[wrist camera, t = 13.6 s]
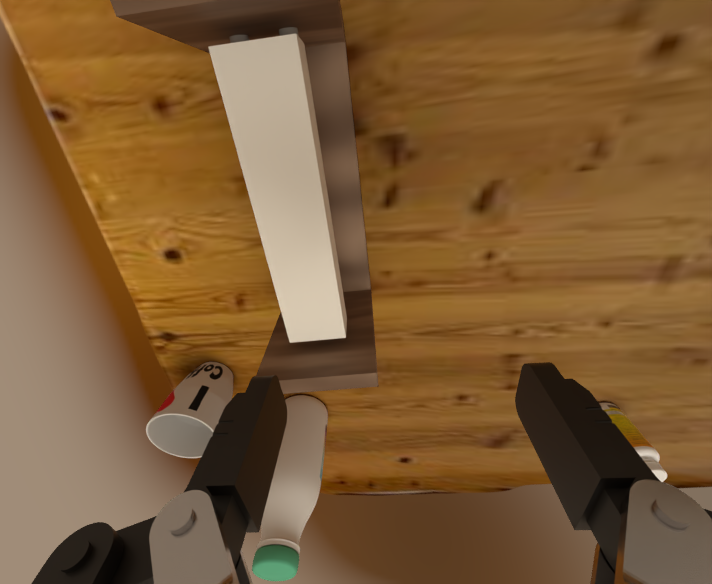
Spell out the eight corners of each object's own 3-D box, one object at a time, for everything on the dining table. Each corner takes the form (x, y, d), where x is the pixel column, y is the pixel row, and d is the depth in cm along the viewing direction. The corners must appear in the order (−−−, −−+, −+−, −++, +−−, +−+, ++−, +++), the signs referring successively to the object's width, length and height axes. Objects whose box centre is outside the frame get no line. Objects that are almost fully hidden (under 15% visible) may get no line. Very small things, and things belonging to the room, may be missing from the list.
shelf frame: (225, 39, 27) (99, -29, 14) (343, 22, 26) (328, -67, 13) (291, 301, 39) (258, 395, 26) (371, 294, 39) (378, 386, 26)
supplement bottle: (574, 410, 49) (622, 476, 40) (611, 395, 47) (670, 461, 38) (585, 429, 51) (633, 496, 42) (621, 415, 50) (679, 482, 41)
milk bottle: (268, 404, 49) (218, 567, 31) (309, 386, 47) (281, 549, 29) (297, 432, 52) (267, 594, 35) (337, 416, 50) (327, 579, 33)
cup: (233, 350, 43) (202, 410, 35) (251, 392, 47) (227, 455, 39) (177, 356, 44) (133, 417, 35) (199, 397, 48) (164, 460, 39)
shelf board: (227, 54, 20) (207, 46, 18) (304, 43, 20) (296, 33, 17) (295, 323, 31) (289, 342, 28) (346, 318, 30) (345, 337, 28)
